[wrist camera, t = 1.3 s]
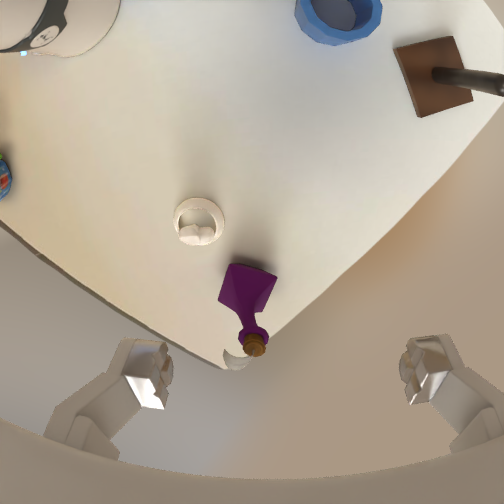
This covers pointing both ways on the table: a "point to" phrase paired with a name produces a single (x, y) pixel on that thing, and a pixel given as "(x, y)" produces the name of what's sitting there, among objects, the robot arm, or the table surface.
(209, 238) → the hook
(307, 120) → the table surface
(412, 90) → the stand
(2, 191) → the snack cup
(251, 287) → the perfume bottle
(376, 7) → the tape roll
